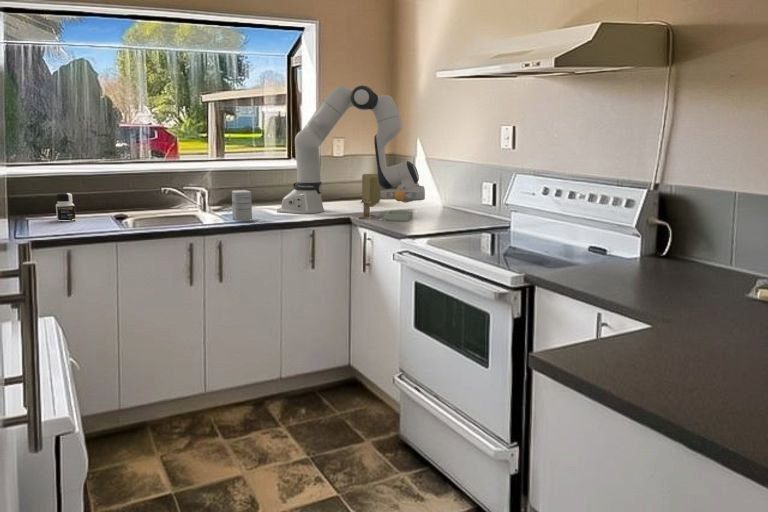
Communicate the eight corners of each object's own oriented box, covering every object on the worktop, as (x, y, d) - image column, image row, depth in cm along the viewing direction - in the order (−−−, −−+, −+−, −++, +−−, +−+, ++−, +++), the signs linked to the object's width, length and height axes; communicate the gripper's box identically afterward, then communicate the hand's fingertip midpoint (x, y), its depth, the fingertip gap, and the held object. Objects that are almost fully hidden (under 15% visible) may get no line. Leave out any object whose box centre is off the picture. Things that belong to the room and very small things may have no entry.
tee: (358, 218, 334) (358, 199, 332) (362, 216, 339) (361, 198, 338) (371, 219, 332) (371, 200, 331) (374, 217, 338) (374, 198, 336)
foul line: (377, 220, 328) (377, 220, 328) (384, 216, 340) (384, 216, 340) (379, 220, 327) (379, 220, 327) (386, 216, 340) (386, 216, 340)
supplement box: (232, 218, 332) (231, 190, 330) (248, 217, 335) (247, 189, 332) (235, 221, 325) (234, 192, 323) (252, 220, 328) (251, 191, 326)
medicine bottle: (58, 222, 320) (55, 194, 317) (56, 220, 326) (54, 192, 324) (76, 221, 323) (73, 193, 321) (74, 219, 329) (72, 192, 327)
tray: (384, 220, 328) (384, 213, 328) (390, 217, 338) (390, 210, 337) (407, 221, 326) (407, 214, 325) (412, 218, 336) (412, 211, 335)
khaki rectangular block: (380, 207, 374) (381, 177, 371) (361, 207, 374) (361, 177, 371) (380, 201, 395) (380, 173, 392) (362, 201, 395) (362, 173, 392)
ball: (393, 202, 329) (392, 190, 328) (395, 200, 333) (395, 189, 332) (404, 202, 327) (403, 190, 326) (406, 200, 332) (406, 189, 331)
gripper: (383, 185, 344) (376, 188, 331) (427, 186, 339) (421, 189, 326) (384, 199, 345) (376, 202, 332) (427, 199, 340) (421, 203, 327)
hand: (399, 196), depth 329 cm, fingers closed on ball, 5 cm apart
